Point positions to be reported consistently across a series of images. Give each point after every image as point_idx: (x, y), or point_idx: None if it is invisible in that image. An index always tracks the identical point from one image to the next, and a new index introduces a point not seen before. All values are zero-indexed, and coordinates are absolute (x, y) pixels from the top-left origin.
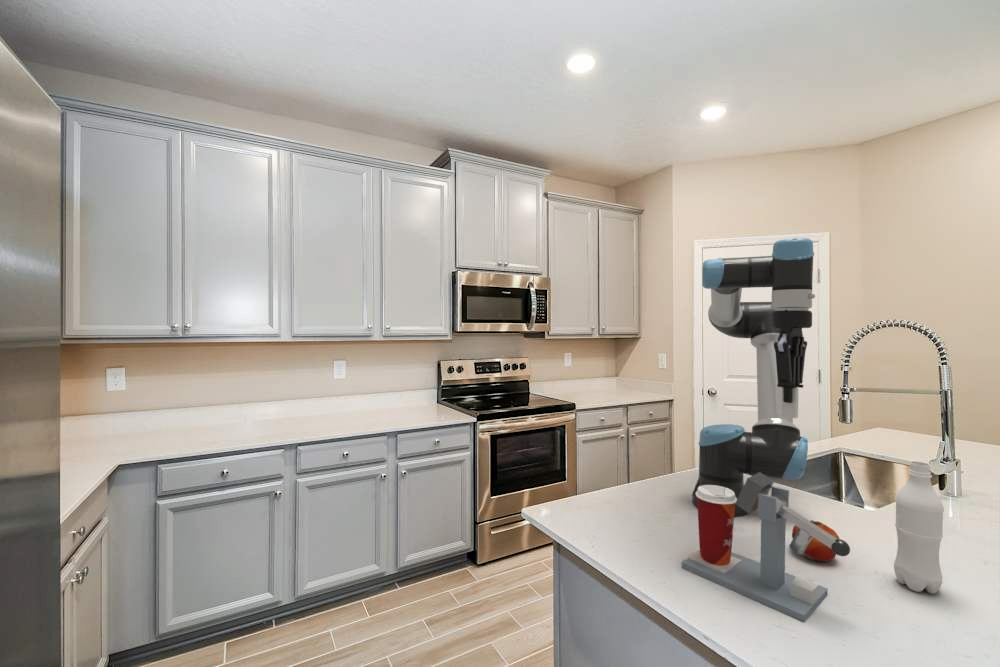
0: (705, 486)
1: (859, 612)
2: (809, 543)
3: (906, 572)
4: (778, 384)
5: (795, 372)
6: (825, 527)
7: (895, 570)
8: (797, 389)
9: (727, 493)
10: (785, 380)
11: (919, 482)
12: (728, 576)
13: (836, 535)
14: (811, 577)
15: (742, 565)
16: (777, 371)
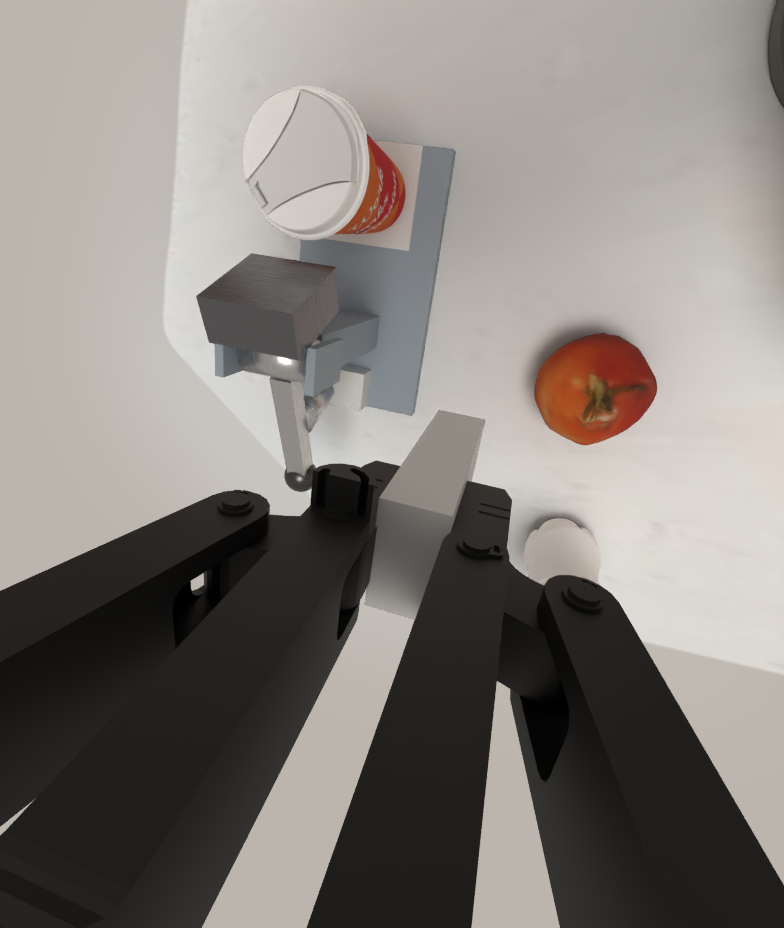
0: (307, 110)
1: (390, 455)
2: (538, 382)
3: (529, 541)
4: (236, 491)
5: (295, 737)
6: (579, 423)
7: (550, 523)
8: (406, 608)
9: (297, 207)
10: (204, 577)
11: None
12: (322, 248)
13: (580, 441)
14: (466, 383)
15: (390, 258)
16: (69, 564)
